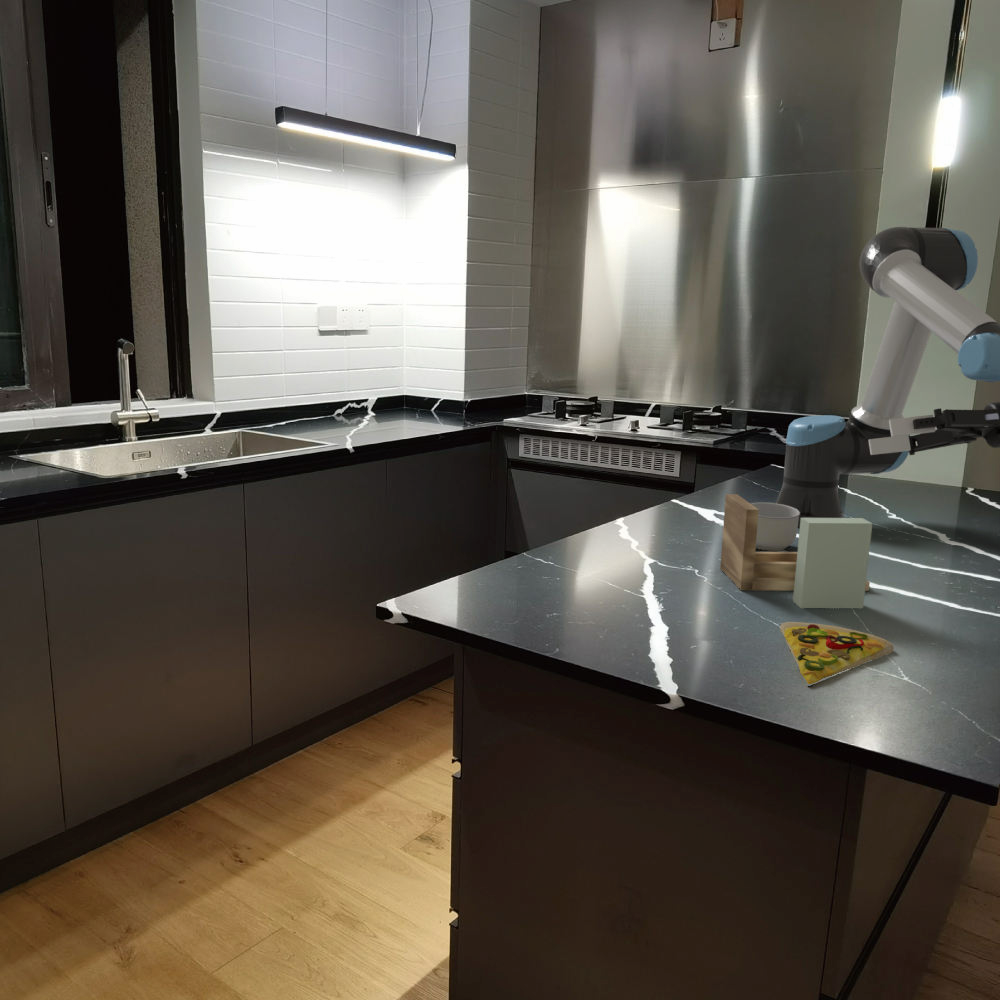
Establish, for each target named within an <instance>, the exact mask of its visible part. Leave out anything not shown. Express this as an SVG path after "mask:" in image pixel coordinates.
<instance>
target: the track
mask: <svg viewBox="0 0 1000 1000" xmlns="http://www.w3.org/2000/svg"><path fill="white" fill-rule="evenodd" d="M724 501H725V502H724V513H723V526H722V539H721V540H722V541H721V552H720V553H721V554H720V555H721V557H720V565H719V566H720V567H719V569H720V570H722V571H723V572H724V573H725V574H726V575H727V576H728V577H729V578H730V579H731V580H732V581H733V582H734V583H735V584H736V585H735V584H734V583H733V582H732V581H731V580H730V579H729V578H728V577H727V576H726V575H725V574H724V575H725V576H726V577H727V578H728V579H729V580H730V581H731V582H732V583H733V584H734V585H735V587H737V586H738V587H737V588H738V589H739V588H740V589H739V590H740V591H793V592H794V584H795V574H796V563H797V552H798V551H756V549H757V548H756V537H757V525H758V513H759V509H757V508H756V507H754V506H753V505H751V502H749V501H747V500H746V499H744V498H743V497H742V496H740V495H739V494H736V493H730V494H729V493H726V494H725V500H724ZM722 571H721V572H722ZM723 572H722V573H723ZM869 590H870V581H869V580H867V579H866V585H865V592H867V591H868V592H869Z"/></svg>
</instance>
